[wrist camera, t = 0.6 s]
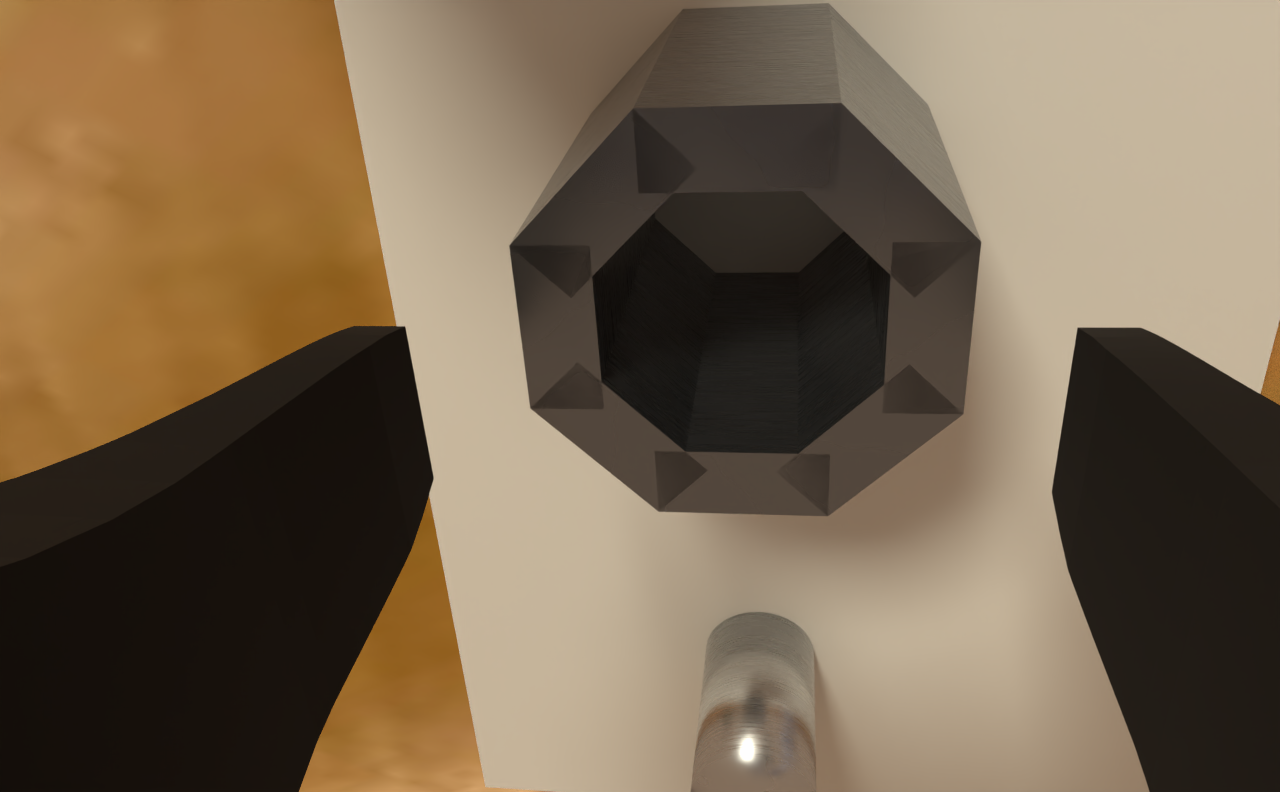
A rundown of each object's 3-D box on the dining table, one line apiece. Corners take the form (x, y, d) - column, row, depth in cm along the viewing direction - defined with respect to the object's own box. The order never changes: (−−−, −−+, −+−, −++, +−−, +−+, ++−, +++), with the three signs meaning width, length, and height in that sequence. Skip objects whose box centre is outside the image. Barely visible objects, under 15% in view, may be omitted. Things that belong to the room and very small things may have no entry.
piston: (815, 614, 23) (818, 760, 20) (813, 695, 24) (815, 846, 21) (704, 609, 23) (688, 752, 20) (707, 689, 25) (692, 837, 21)
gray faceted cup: (935, -2, 17) (996, 98, 12) (912, 322, 19) (952, 519, 14) (582, 12, 17) (492, 112, 12) (608, 322, 20) (543, 508, 15)
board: (1391, -271, 15) (1433, -274, 14) (1133, 788, 26) (1146, 829, 25) (326, -196, 18) (296, -193, 16) (496, 750, 28) (485, 787, 27)
